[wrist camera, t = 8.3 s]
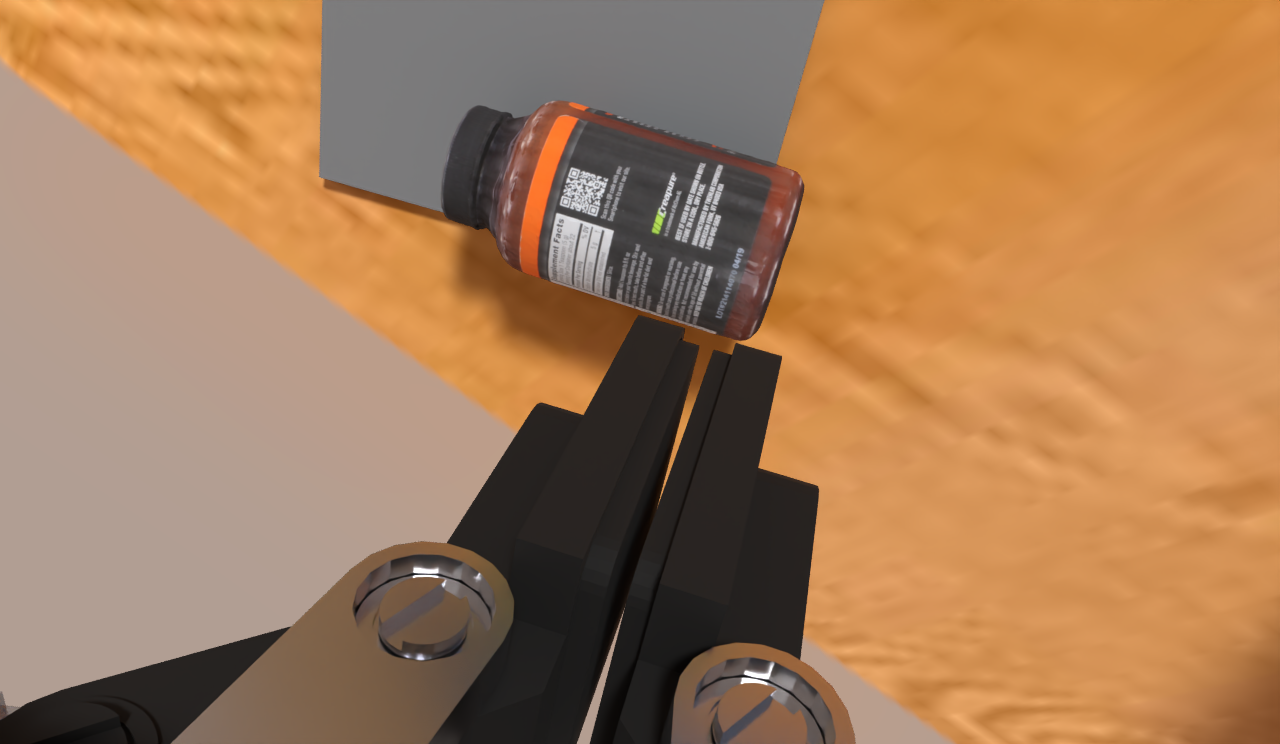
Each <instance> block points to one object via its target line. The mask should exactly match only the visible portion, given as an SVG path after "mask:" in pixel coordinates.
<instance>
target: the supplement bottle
mask: <svg viewBox="0 0 1280 744" xmlns="http://www.w3.org/2000/svg"><path fill="white" fill-rule="evenodd" d="M803 193H804V184H803V181H802V179H801V176H800V175H799V174H798V173H797V172H796V171H793V170H791V169H788V168H785V167H781V166H779V165H777V164H775V163H772V162H769V161H765V160H761V159H757V158H755V157H752V156H749V155H745V154H742V153H738V152H736V151H732V150H729V149H725V148H721V147H718V146H715V145H712V144H709V143H706V142H702V141H699V140H696V139H692V138H689V137H685V136H683V135H680V134H676V133H673V132H669V131H667V130H662V129H659V128H657V127H653V126H650V125H646V124H643V123H640V122H637V121H633V120H630V119H627V118H623V117H621V116H618V115H614V114H610V113H608V112H605V111H601V110H597V109H593V108H590V107H586V106H584V105H581V104H577V103H574V102H568V101H560V100H559V101H551V102H548V103H545V104H543V105H541V106H540V107H539V108H538V109H537V110H536V111H534V112H533V113H532V114H531V115H528V116H523V117H518V118H513V116H512V114H511V113H508V112H500V111H498V110H494V109H490V108H488V107H486V106H481V105H476V106H474V107H472V108H470V109H469V110H468V111H467V112H466V113H465V115H463V117H462V119H461V121H460V122H459V123H458V124H457V127H456V129H455V131H454V133H453V135H452V138H451V141H450V144H449V147H448V150H447V153H446V157H445V161H444V165H443V170H442V178H441V189H440V198H441V208H442V210H443V212H444V214H445V216H446V217H447V218H448V219H450V220H453V221H455V222H458V223H461V224H464V225H467V226H471V227H473V228H475V229H476V230H479V229H484V228H488V229H489V231H490V232H491V233H492V235H493V236H494V237H495V239H496V242H497V246H498V249H499V251H500V253H501V255H502V257H503V258H504V259H505V261H506V262H507V263H508V264H509V265H511V266H512V267H513V268H515V269H517V270H519V271H521V272H524V273H526V274H529V275H532V276H535V277H539V278H542V279H546V280H548V281H550V282H553V283H556V284H560V285H563V286H566V287H569V288H572V289H576V290H579V291H582V292H585V293H588V294H591V295H594V296H597V297H600V298H604V299H607V300H610V301H613V302H616V303H619V304H622V305H626V306H629V307H632V308H635V309H638V310H641V311H644V312H647V313H650V314H654V315H657V316H660V317H663V318H666V319H669V320H672V321H676V322H679V323H682V324H685V325H688V326H691V327H694V328H697V329H700V330H704V331H707V332H710V333H713V334H717V335H721V336H725V337H728V338H731V339H734V340H739V341H742V340H747V339H749V338H751V337H752V336H753V335H754V334H755V333H756V332H757V331H758V329H759V328H760V326H761V323H762V321H763V318H764V315H765V313H766V310H767V307H768V305H769V302H770V299H771V296H772V293H773V290H774V287H775V284H776V281H777V277H778V274H779V271H780V268H781V264H782V261H783V258H784V255H785V252H786V250H787V247H788V244H789V242H790V239H791V236H792V233H793V230H794V227H795V224H796V221H797V217H798V213H799V209H800V205H801V201H802V197H803Z"/></svg>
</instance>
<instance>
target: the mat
mask: <svg viewBox="0 0 1280 744" xmlns="http://www.w3.org/2000/svg"><path fill="white" fill-rule="evenodd" d="M823 3H824V0H323V3H322V60H321V116H320V172H319V177H321V178H324V179H328V180H331V181H335V182H338V183H342V184H345V185H349V186H352V187H356V188H359V189H363V190H366V191H370V192H373V193H377V194H380V195H384V196H387V197H391V198H394V199H398V200H401V201H405V202H408V203H412V204H415V205H419V206H422V207H426V208H429V209H433V210H436V211H440V212H443V210H442V208H441V198H440V189H441V178H442V170H443V165H444V161H445V157H446V153H447V150H448V147H449V144H450V141H451V138H452V135H453V133H454V131H455V129H456V127H457V124H458V123H459V122H460V121H461V119H462V117H463V115H465V113H466V112H467V111H468V110H469V109H470V108H472V107H474V106H476V105H481V106H486V107H488V108H490V109H494V110H498V111H500V112H508V113H511V114H512V116H513V118H518V117H523V116H528V115H531V114H532V113H533V112H534V111H536V110H537V109H538V108H539V107H540V106H541V105H543V104H545V103H548V102H551V101H559V100H560V101H568V102H574V103H577V104H581V105H584V106H586V107H590V108H593V109H597V110H601V111H605V112H608V113H610V114H614V115H618V116H621V117H623V118H627V119H630V120H633V121H637V122H640V123H643V124H646V125H650V126H653V127H657V128H659V129H662V130H667V131H669V132H673V133H676V134H680V135H683V136H685V137H689V138H692V139H696V140H699V141H702V142H706V143H709V144H712V145H715V146H718V147H721V148H725V149H729V150H732V151H736V152H738V153H742V154H745V155H749V156H752V157H755V158H757V159H761V160H765V161H769V162H772V163H775V164H776V163H777V160H778V156H779V153H780V149H781V146H782V143H783V139H784V136H785V132H786V129H787V125H788V122H789V119H790V115H791V112H792V108H793V105H794V102H795V98H796V95H797V91H798V88H799V85H800V81H801V78H802V74H803V71H804V68H805V64H806V61H807V57H808V54H809V51H810V47H811V44H812V40H813V37H814V34H815V30H816V27H817V23H818V20H819V17H820V13H821V10H822V6H823Z"/></svg>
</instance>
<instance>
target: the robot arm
mask: <svg viewBox="0 0 1280 744" xmlns="http://www.w3.org/2000/svg"><path fill="white" fill-rule="evenodd" d="M684 332H685V328H682V327H679V326H675V325H672V324H668V323H665V322H661V321H658V320H654V319H651V318H647V317H644V316H640V315H638V317H637V318H636V320H635V322H634V324H633V325H632V327H631V329H630V331H629V333H628V335H627V336H626V338H625V340H624V342H623V344H622V346H621V347H620V349H619V351H618V353H617V355H616V357H615V358H614V360H613V362H612V364H611V366H610V368H609V369H608V371H607V373H606V375H605V377H604V379H603V380H602V382H601V384H600V386H599V388H598V390H597V391H596V393H595V395H594V397H593V399H592V401H591V402H590V404H589V406H588V408H587V410H586V412H585V413H584V415H581V414H578V413H575V412H571V411H568V410H565V409H561V408H558V407H555V406H551V405H548V404H545V403H539V404H537V405H536V406H535V407H534V409H533V410H532V411H531V413H530V414H529V416H528V417H527V419H526V420H525V422H524V424H523V425H522V427H521V428H520V430H519V431H518V433H517V434H516V436H515V438H514V439H513V441H512V442H511V444H510V445H509V447H508V449H507V450H506V452H505V453H504V455H503V456H502V458H501V460H500V461H499V462H498V464H497V466H496V467H495V469H494V470H493V472H492V473H491V475H490V476H489V478H488V480H487V481H486V483H485V484H484V486H483V487H482V489H481V490H480V492H479V494H478V495H477V497H476V498H475V500H474V501H473V503H472V505H471V506H470V508H469V509H468V511H467V512H466V514H465V516H464V517H463V519H462V520H461V522H460V524H459V525H458V527H457V528H456V529H455V531H454V533H453V534H452V536H451V537H450V539H449V540H448V542H447V543H437V542H424V541H421V542H414V543H406V544H398V545H394V546H391V547H389V548H386V549H384V550H381V551H378V552H376V553H373V554H371V555H369V556H368V557H367V558H365V559H364V560H362V561H361V562H360V563H358V564H357V565H356V566H354V567H353V568H351V569H350V570H349V572H347V573H346V574H345V575H344V576H343V577H342V578H341V579H340V580H339V581H338V582H337V583H336V584H335V585H334V586H333V587H332V588H331V589H330V590H329V591H328V592H327V593H326V594H325V595H323V597H321V598H320V599H319V600H318V601H317V602H316V603H315V604H314V605H313V606H312V607H311V608H310V609H309V610H308V611H307V612H306V613H305V614H304V615H303V616H302V617H301V618H300V619H299V620H298V621H297V622H296V623H295V624H294V625H293V626H291V627H287V628H284V629H280V630H276V631H273V632H269V633H265V634H262V635H258V636H255V637H251V638H248V639H244V640H240V641H237V642H233V643H229V644H226V645H222V646H219V647H215V648H211V649H208V650H205V651H201V652H197V653H193V654H190V655H186V656H183V657H179V658H176V659H172V660H168V661H164V662H161V663H158V664H154V665H150V666H146V667H143V668H139V669H136V670H132V671H128V672H125V673H121V674H118V675H114V676H110V677H107V678H103V679H100V680H96V681H92V682H89V683H85V684H82V685H78V686H75V687H71V688H68V689H64V690H60V691H58V692H55V693H53V694H50V695H48V696H45V697H42V698H40V699H37V700H35V701H32V702H29V703H27V704H25V705H24V706H22V707H14V706H6V705H5V701H4V697H3V694H2V692H0V744H577V741H578V738H579V735H580V732H581V730H582V727H583V724H584V721H585V718H586V716H587V713H588V710H589V707H590V704H591V701H592V699H593V695H594V693H595V690H596V687H597V684H598V681H599V679H600V676H601V673H602V670H603V667H604V665H605V662H606V659H607V656H608V653H609V650H610V648H611V645H612V642H613V639H614V636H615V633H616V630H617V628H618V625H619V622H620V619H621V616H622V614H623V617H622V621H621V625H620V629H619V633H618V637H617V640H616V644H615V648H614V652H613V656H612V660H611V664H610V667H609V671H608V676H607V679H606V683H605V687H604V691H603V695H602V698H601V702H600V706H599V710H598V714H597V718H596V721H595V726H594V729H593V733H592V737H591V741H590V744H856V742H855V734H854V731H853V728H852V724H851V721H850V717H849V714H848V711H847V709H846V707H845V705H844V704H843V702H842V701H841V699H840V698H839V696H838V695H837V693H836V691H835V690H834V688H833V687H832V686H831V685H830V684H829V683H828V682H827V681H826V680H825V679H824V678H822V676H821V675H820V674H819V673H818V672H817V671H815V670H814V669H813V668H812V667H810V666H809V665H807V664H806V663H804V662H802V661H801V660H800V657H801V648H802V647H801V646H802V639H803V630H804V621H805V613H806V604H807V595H808V586H809V577H810V569H811V560H812V551H813V542H814V533H815V525H816V516H817V507H818V498H819V488H818V486H816V485H813V484H810V483H806V482H803V481H800V480H797V479H793V478H790V477H787V476H783V475H780V474H777V473H773V472H770V471H767V470H763V469H760V468H758V466H759V462H760V457H761V453H762V448H763V443H764V439H765V434H766V429H767V425H768V420H769V416H770V411H771V406H772V402H773V397H774V392H775V388H776V383H777V379H778V374H779V369H780V365H781V360H782V356H779V355H776V354H772V353H769V352H765V351H762V350H758V349H755V348H751V347H748V346H744V345H741V344H738V343H736V344H735V347H734V350H733V353H732V355H730V354H727V353H723V352H720V351H716V350H714V351H713V353H712V356H711V359H710V362H709V365H708V367H707V370H706V373H705V376H704V379H703V381H702V384H701V387H700V390H699V393H698V395H697V398H696V401H695V404H694V407H693V409H692V412H691V415H690V418H689V421H688V423H687V426H686V429H685V432H684V435H683V437H682V440H681V443H680V446H679V449H678V451H677V454H676V457H675V460H674V463H673V465H672V468H671V471H670V474H669V477H668V480H667V482H666V485H665V488H664V491H663V494H662V496H661V499H660V495H661V491H662V487H663V484H664V480H665V476H666V472H667V468H668V465H669V461H670V457H671V453H672V449H673V446H674V442H675V438H676V434H677V430H678V427H679V423H680V419H681V415H682V411H683V408H684V404H685V400H686V396H687V393H688V389H689V385H690V381H691V377H692V374H693V370H694V366H695V362H696V358H697V354H698V350H699V345H696V344H692V343H689V342H685V341H683V338H684ZM659 499H660V502H659ZM658 503H659V505H658ZM657 506H658V508H657ZM625 605H626V606H625ZM624 608H625V609H624ZM623 611H624V613H623Z"/></svg>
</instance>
